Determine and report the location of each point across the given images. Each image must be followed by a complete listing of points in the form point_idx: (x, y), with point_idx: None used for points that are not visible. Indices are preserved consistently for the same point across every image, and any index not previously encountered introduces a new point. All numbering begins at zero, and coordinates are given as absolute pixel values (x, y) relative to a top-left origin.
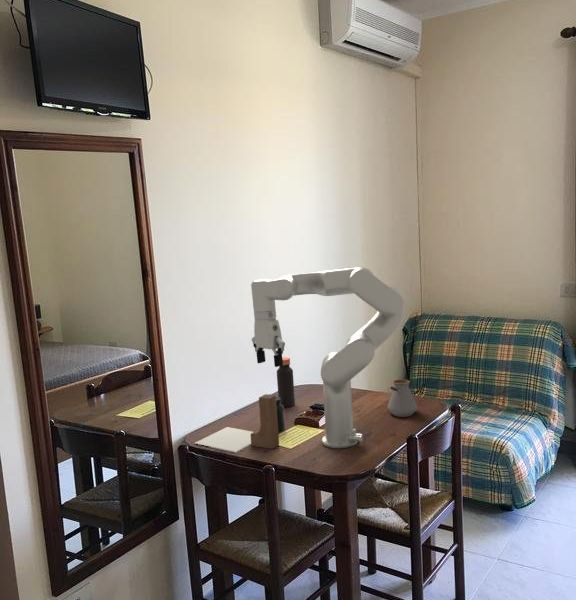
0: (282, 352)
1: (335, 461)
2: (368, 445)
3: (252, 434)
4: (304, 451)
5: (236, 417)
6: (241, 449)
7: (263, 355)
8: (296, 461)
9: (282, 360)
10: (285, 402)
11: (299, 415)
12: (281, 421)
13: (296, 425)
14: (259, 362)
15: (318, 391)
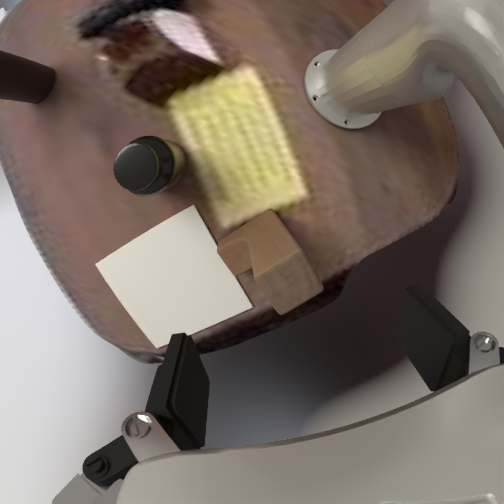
0: (493, 342)
1: (415, 165)
2: None
3: (241, 273)
4: (343, 181)
5: (46, 218)
6: (243, 291)
7: (187, 385)
8: (372, 224)
9: (434, 298)
10: (43, 89)
11: (113, 75)
12: (181, 156)
13: (172, 107)
14: (208, 380)
15: (31, 12)
